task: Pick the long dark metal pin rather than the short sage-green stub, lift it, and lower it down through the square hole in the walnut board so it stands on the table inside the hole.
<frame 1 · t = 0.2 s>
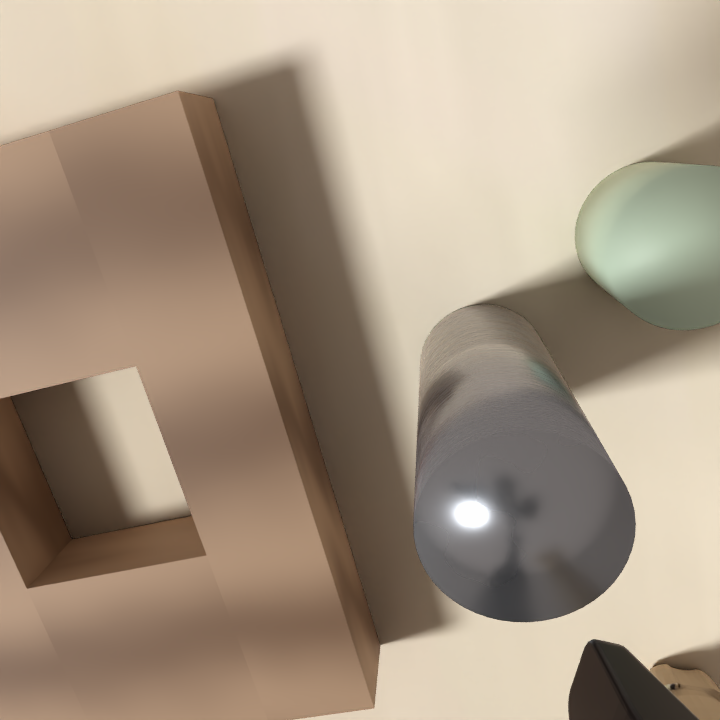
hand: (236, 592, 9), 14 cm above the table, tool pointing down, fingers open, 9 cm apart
short pin: (643, 231, 20), on the table
long pin: (482, 364, 22), on the table
handle: (668, 689, 25), on the table
board: (119, 444, 24), on the table
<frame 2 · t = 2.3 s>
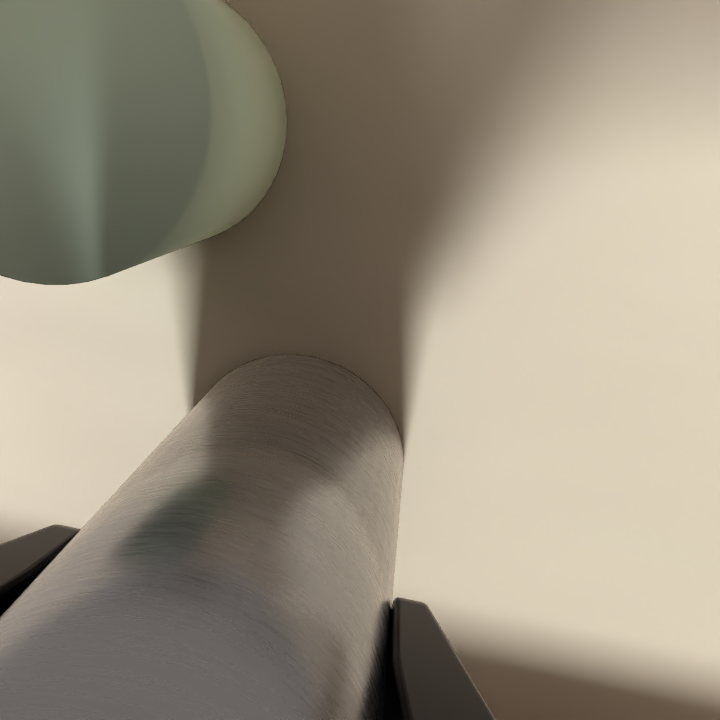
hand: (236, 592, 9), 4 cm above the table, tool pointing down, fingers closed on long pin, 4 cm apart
short pin: (166, 118, 11), on the table
long pin: (295, 458, 13), on the table, touching gripper
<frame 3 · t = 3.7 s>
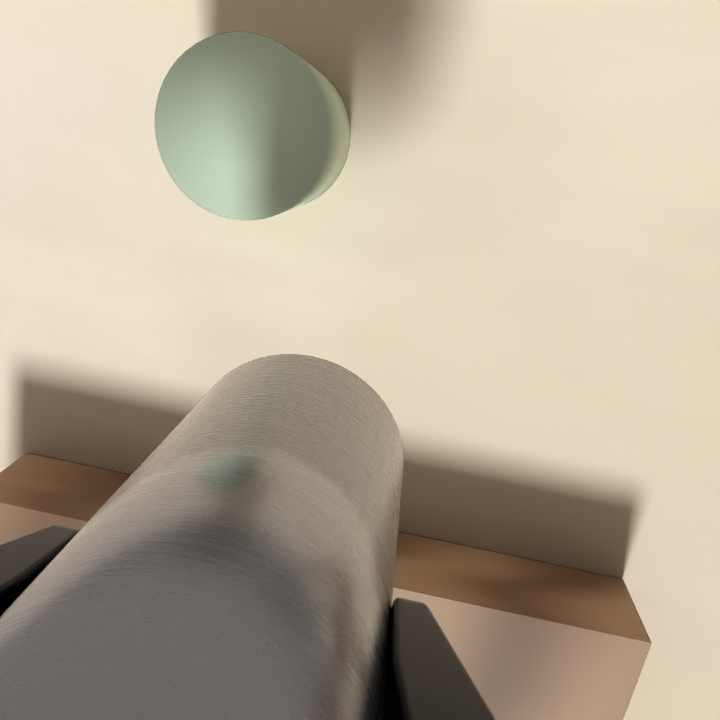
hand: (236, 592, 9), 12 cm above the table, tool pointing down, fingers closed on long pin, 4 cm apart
short pin: (279, 134, 19), on the table
long pin: (295, 457, 13), point 8 cm above the table, touching gripper
board: (288, 684, 24), on the table
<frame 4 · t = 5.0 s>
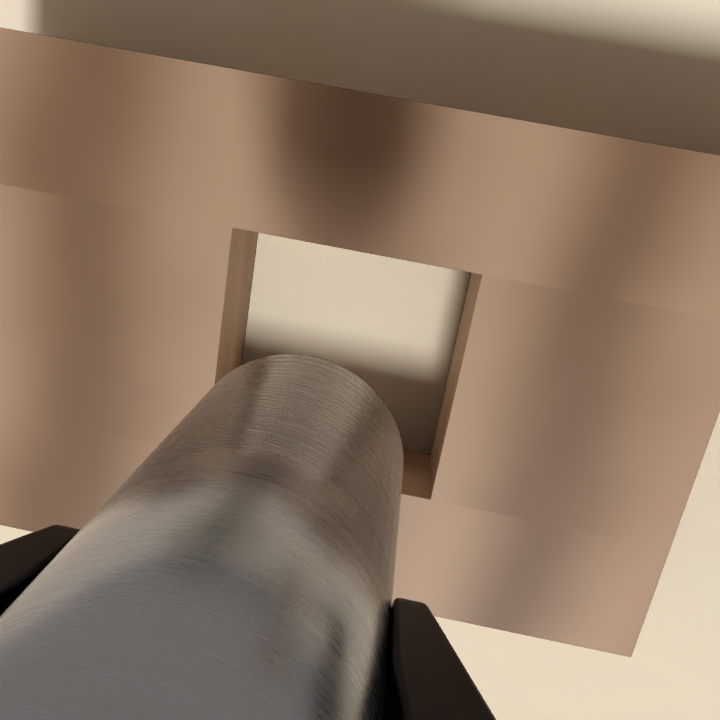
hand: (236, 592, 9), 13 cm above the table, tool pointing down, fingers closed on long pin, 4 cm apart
long pin: (295, 457, 13), point 9 cm above the table, touching gripper
board: (348, 340, 21), on the table
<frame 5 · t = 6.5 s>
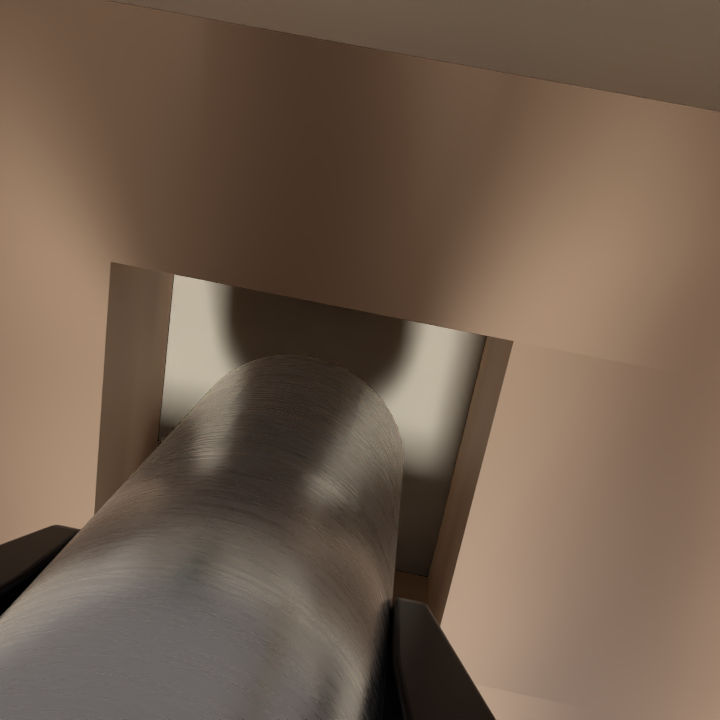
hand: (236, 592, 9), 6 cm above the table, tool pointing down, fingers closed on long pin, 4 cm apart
long pin: (295, 458, 13), point 2 cm above the table, touching gripper
board: (309, 418, 15), on the table
when the fingers open (5 cm above the table, at t = 7.6 s): long pin stays where it is, resting in board.
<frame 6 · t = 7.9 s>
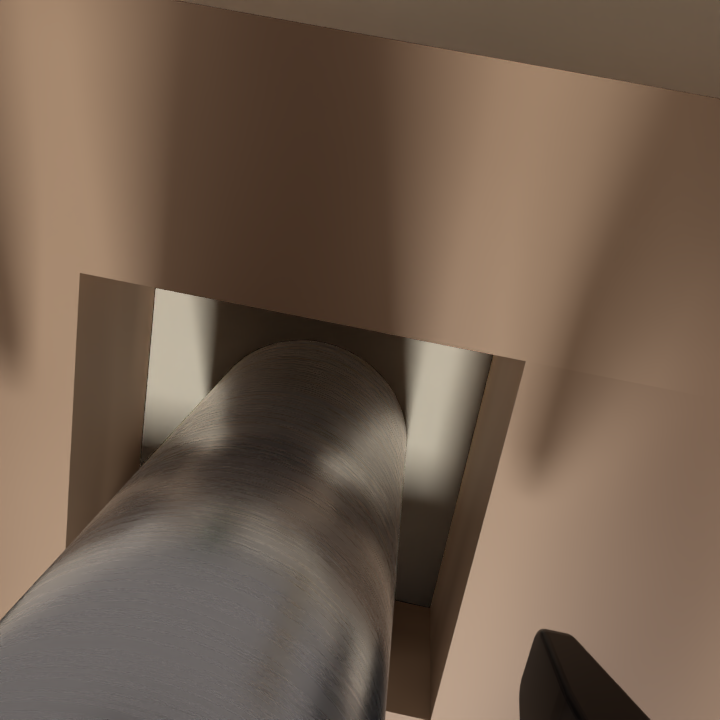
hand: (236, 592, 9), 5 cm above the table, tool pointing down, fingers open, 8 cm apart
long pin: (305, 437, 14), resting in board
board: (302, 438, 14), on the table
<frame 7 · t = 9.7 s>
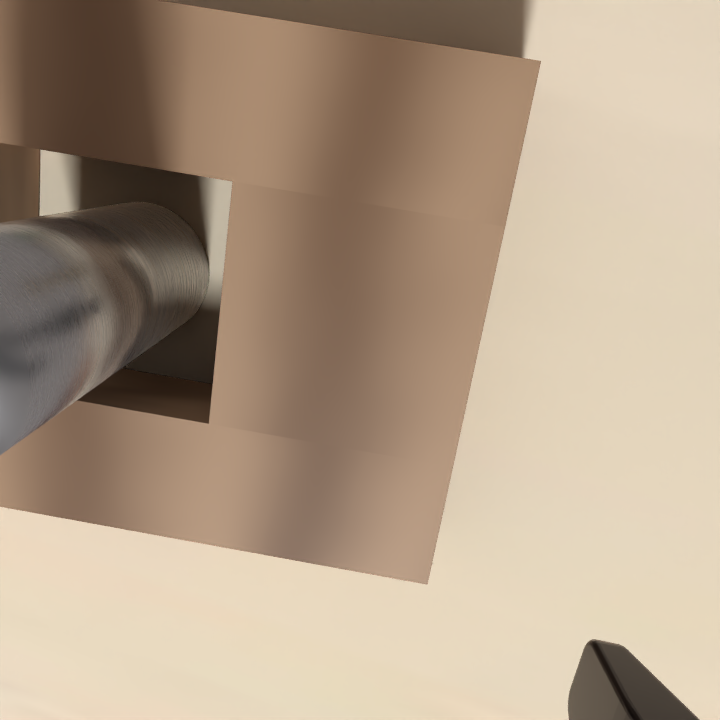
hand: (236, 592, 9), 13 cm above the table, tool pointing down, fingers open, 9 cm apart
long pin: (144, 269, 21), resting in board
board: (142, 270, 21), on the table
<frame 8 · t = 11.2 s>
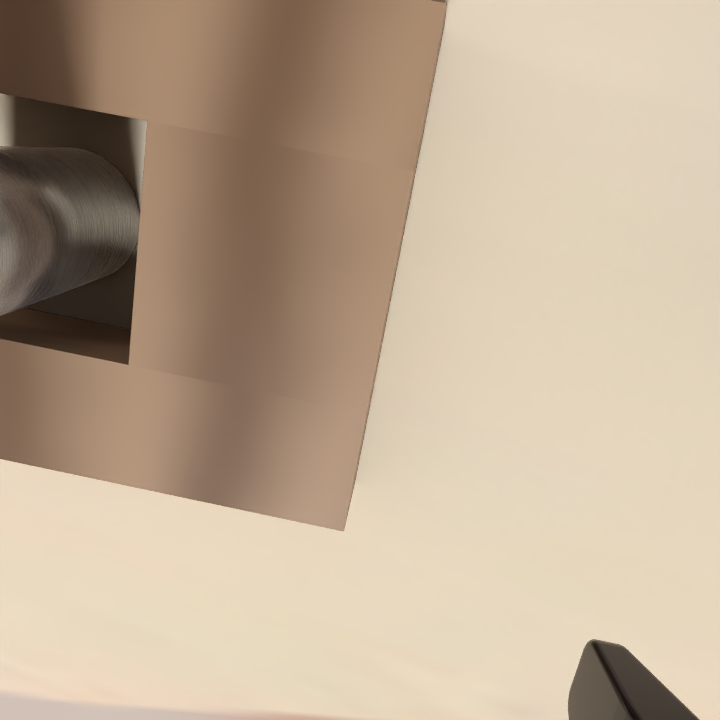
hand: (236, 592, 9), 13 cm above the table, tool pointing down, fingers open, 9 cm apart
long pin: (77, 215, 21), resting in board
board: (75, 216, 21), on the table
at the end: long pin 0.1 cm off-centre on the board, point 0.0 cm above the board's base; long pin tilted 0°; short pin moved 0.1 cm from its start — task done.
